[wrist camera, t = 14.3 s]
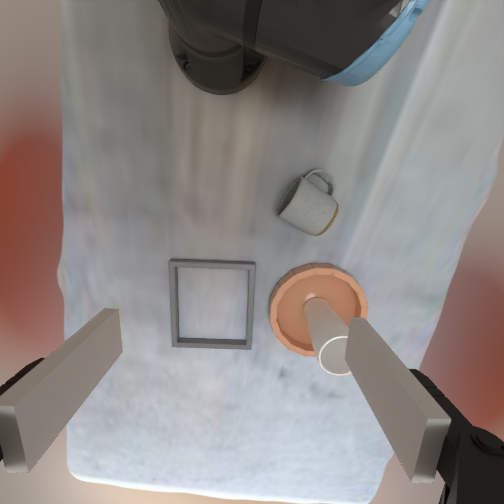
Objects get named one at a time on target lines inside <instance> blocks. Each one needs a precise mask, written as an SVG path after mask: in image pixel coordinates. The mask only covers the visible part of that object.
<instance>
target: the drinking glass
mask: <svg viewBox="0 0 504 504" xmlns="http://www.w3.org/2000/svg"><path fill="white" fill-rule="evenodd" d="M303 313H304V316H305V319H306V323H307V327H308V331H309V335H310V339H311V343H312V346H313V349H314V352H315V355H316V357H317V359H318V361H319V363H320V365H321V367H322V368H323V369H324V370H325V371H326V372H328V373H329V374H332V375H337V376H342V375H347V374H350V373H352V372H351V370H350V368H349V367H348V365H347V363H346V361H345V359H344V358H345V352H346V345H347V338H348V332H349V326H348V325H347V324H346V322H345V321H344V320H343V319H342V318H341V317H340V316H339V315H338V314H337V313H336V312H335V311H334V310H333V308H332V307H331V306H330V305H329V303H328V302H327V301H326V300H324V299H322V298H312V299H310V300H308V301H307V302H306V304H305V305H304V308H303Z"/></svg>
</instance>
